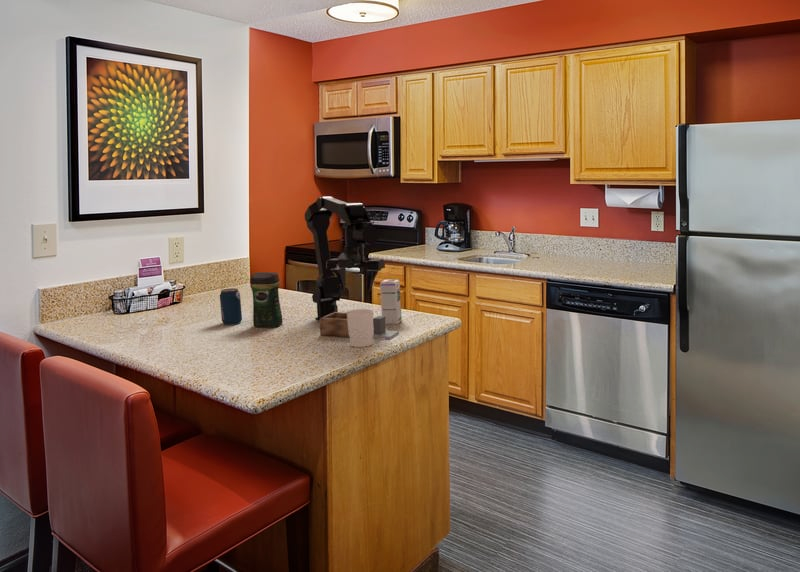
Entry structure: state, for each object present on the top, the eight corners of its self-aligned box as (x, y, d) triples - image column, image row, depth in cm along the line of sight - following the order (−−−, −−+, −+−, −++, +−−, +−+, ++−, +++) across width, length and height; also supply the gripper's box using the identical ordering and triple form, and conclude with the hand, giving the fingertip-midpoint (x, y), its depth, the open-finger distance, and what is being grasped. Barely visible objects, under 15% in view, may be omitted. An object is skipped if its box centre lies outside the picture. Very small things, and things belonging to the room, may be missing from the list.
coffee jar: (285, 323, 214) (282, 270, 211) (276, 328, 207) (272, 274, 204) (260, 322, 216) (256, 270, 213) (250, 328, 209) (246, 274, 206)
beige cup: (359, 340, 188) (357, 308, 186) (379, 343, 184) (378, 310, 182) (342, 346, 182) (341, 313, 180) (363, 349, 177) (362, 315, 176)
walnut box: (320, 335, 195) (319, 318, 194) (335, 328, 204) (334, 311, 203) (354, 338, 191) (353, 320, 190) (367, 330, 200) (367, 313, 199)
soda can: (246, 321, 219) (243, 288, 217) (233, 326, 213) (230, 291, 211) (230, 320, 222) (228, 287, 220) (217, 324, 216) (215, 291, 214)
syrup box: (398, 324, 207) (397, 281, 205) (381, 324, 208) (379, 281, 206) (401, 320, 213) (400, 279, 210) (385, 320, 214) (383, 279, 211)
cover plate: (360, 338, 191) (359, 319, 190) (369, 333, 198) (369, 314, 197) (390, 340, 188) (389, 320, 187) (398, 334, 194) (398, 315, 193)
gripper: (316, 244, 193) (319, 293, 196) (370, 245, 186) (372, 295, 189) (333, 241, 204) (335, 287, 206) (384, 241, 197) (386, 289, 199)
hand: (356, 290), depth 200 cm, fingers open, 9 cm apart
